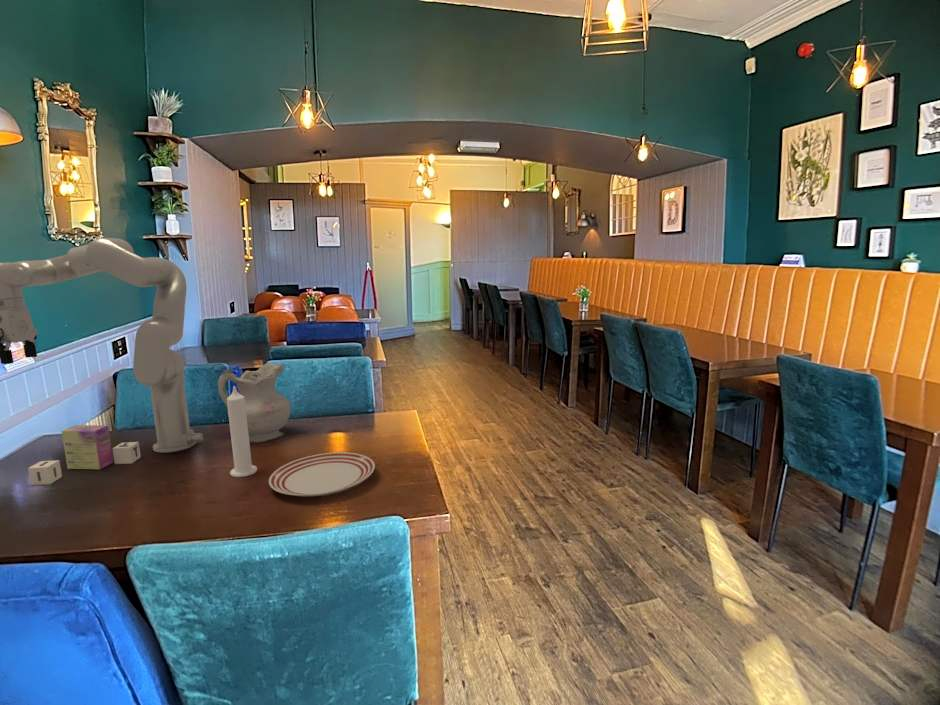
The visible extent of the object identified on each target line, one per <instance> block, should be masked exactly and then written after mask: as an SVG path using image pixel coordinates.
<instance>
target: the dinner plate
mask: <svg viewBox="0 0 940 705" xmlns="http://www.w3.org/2000/svg"><path fill="white" fill-rule="evenodd" d="M375 469H376V463H375V462H374V461H373V459H371V458H370V457H369V456H366V455H364V454H359V453H354V452H346V451H345V452H344V451H343V452H342V451H340V452H327V453H319V454H314V455H308V456H305V457H302V458H301V457H300V458H299V459H295V460H293V461H290V462H288V463H286V464H283V465H282V466H280V467H279V468H277V469H275V470H274V471H273V473H271V475H270V476H269V478H268V485H269V486H270V489H272V490H273V491H275V492H277V493H280V494H284V495H288V496H293V497H294V496H296V497H320V496H321V497H323V496H328V495H334V494H337V493H341V492H344V491H347V490H349V489H352V488H355V487H356V486H358V485H360V484H361V483H363V482H364V481H366V480H367V479H369V477H371V475H372V474H374V473H373V472H374V471H375Z"/></svg>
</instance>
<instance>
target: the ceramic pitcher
mask: <svg viewBox="0 0 940 705" xmlns="http://www.w3.org/2000/svg"><path fill="white" fill-rule="evenodd" d="M284 370H285V368H284V365H282V364H279V363H277V364H273V363H269V362H267V363H265V364H262V365H261V366H260V367H259V368H258V369H257V370H252V371H251V370H245V371H244V372H243V373H242V375H241V376H240V377H237V376H236V375H235V373H234V372H233V369H231V368H229V369H225V370H223V371H221V374H220V376H219V378H218V381H217V389H218V394H219V396H220V398H221V400H222V402H223V404H224V405H225V406H226V407H227V408H228V406H227V398H228V397H229V396H228V393H227V392H226V383H227V381H231V382H233V383H234V384H236V385H237V389H238V393H239V394H241V395H242V396H244V398H245V407H246V416H247V426H248V435H249V443H264V442H267V441H270V440H274V439H277V438H280V437H282V436H283V435H285V433H284V432H282V431H279V430H280V429H283V427H284V426H285V425H286V424H287V422H288V420H289V418H290V416H291V403H290V400H288V398H286V397H285V396H284V395H283V394H281V393H279V392H278V391H277V389H276V381H277V378H278V376H279V375H281V373H283V372H284ZM227 416H228V417H229V415H228V414H227Z"/></svg>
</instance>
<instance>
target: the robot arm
mask: <svg viewBox="0 0 940 705" xmlns="http://www.w3.org/2000/svg"><path fill="white" fill-rule="evenodd" d="M102 272H106V273H108V274H109V275H112V277H113V276H114V277H116V278H118V279H120V280H121V281H124V282H125V283H128V284H130V285H132V286H135V287H139V288H148V287H155V286H156V293H155V295H154V300H153V310H152V317H151V318H150V319H147V320H145V321H144V322H142V323H141V324H140V325H139V327H138V328H137V331H136V334H135V340H134V349H133V350H134V351H133V364H132V365H133V368H132V369H133V370H132V371H133V374H134V377H135V379H136V381H137V382H138V383H139V384H141V385H143V386H145V387H150V395H151V396H150V397H151V406H152V413H153V417H154V418H153V419H154V427H155V434H156V440H157V442H156V443H153V445H152V450H153V451H154V452H155V453H161V454H163V453H165V454H166V453H167V454H168V453H175V452H181V451H184V450H187V449H190V448H192V447H194V446H195V445H197V442H200V441H203V440H204V435H203V433H202V432H201V433H200V432H199V433H198V432H197V433H196V432H194V428H192V429H191V428H190V420H189V414H188V413H189V411H188V404H187V395H186V388H185V387H186V385H185V361H184V359H183V357H182V355H181V354H180V353H179V352H178V351H176V350H174V349H170V348H171V347H172V346H174V345H177V344H178V343H180V341H181V340H182V338H183V336H184V324H185V314H186V308H185V307H186V300H187V299H186V297H187V281H186V280H187V279H186V278H185V275H184V273H183V272H182V270H181V269H180V267H179V266H178V265H177V264H175V263H174V262H172V261H171V260H169V259H167V258H164V257H158V256H150V257H142V256H140V255H138V254H136V253H135V252H134V249H133V246H132V245H131V243H129V242H128V241H126V240H124V239H121V238H118V237H117V238H115V237H114V238H113V237H112V238H111V237H101V238H96V239H94V240H92V241H90V243H88V244H86V245H79V246H75V247H72V248H70V249H68V250H67V253H66V254H64V255H61V256H60V255H59V256H57V257H56V256H55V257H52V258H48V259H47V258H46V259H40V260H22V261H20V260H19V261H13V262H0V363H1V364H2V365H7V364H8V365H9V364H14V358H13V353H12V349H10V348H11V346H12V343H14V344H16V343H21V342H22V343H23V345H22V346H23V350H24V351H23V352H24V356H25V358H37V357H38V353H37V348H36V343H37V341H36V340H37V335H38V328H36V327H34V323H33V320H32V317H31V313H30V311H29V309H28V307H27V306H26V302H25V297H24V293H23V288H27V287H30V288H31V287H36V286H37V287H39V286H47V285H54V284H57V283H61V282H65V281H66V282H67V281H70V280H74V279H78V278H82V277H85V276H88V275H89V276H90V275H93V274H97V273H102Z"/></svg>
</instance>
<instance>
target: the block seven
mask: <svg viewBox="0 0 940 705" xmlns="http://www.w3.org/2000/svg"><path fill="white" fill-rule="evenodd" d="M111 449H112V456H113V463H114V465H122V464H124V465H127V464H134V463H135V462H136V461H137V460H139V459H141V457H142V456H141V449H140V442H139V441H133V442H132V441H129V442H120V443H119V444H118V445H116V446H114V447H111Z"/></svg>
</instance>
